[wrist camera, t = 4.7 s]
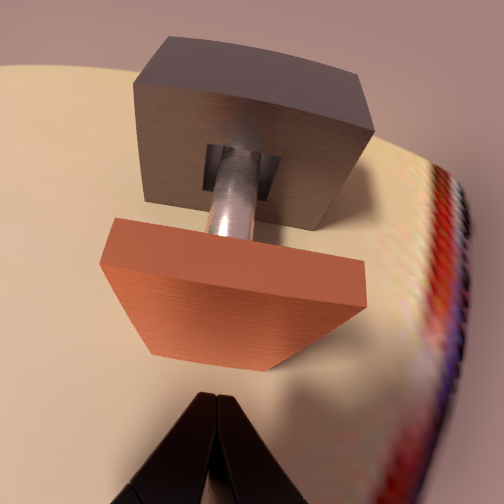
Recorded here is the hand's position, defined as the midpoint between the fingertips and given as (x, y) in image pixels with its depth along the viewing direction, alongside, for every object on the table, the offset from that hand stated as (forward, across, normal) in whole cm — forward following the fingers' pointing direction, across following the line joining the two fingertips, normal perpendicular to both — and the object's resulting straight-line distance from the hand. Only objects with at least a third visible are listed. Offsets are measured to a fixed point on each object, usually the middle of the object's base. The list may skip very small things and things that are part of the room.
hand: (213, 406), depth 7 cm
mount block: (+14, 0, -4) cm, 15 cm away
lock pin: (+10, 0, -2) cm, 10 cm away
